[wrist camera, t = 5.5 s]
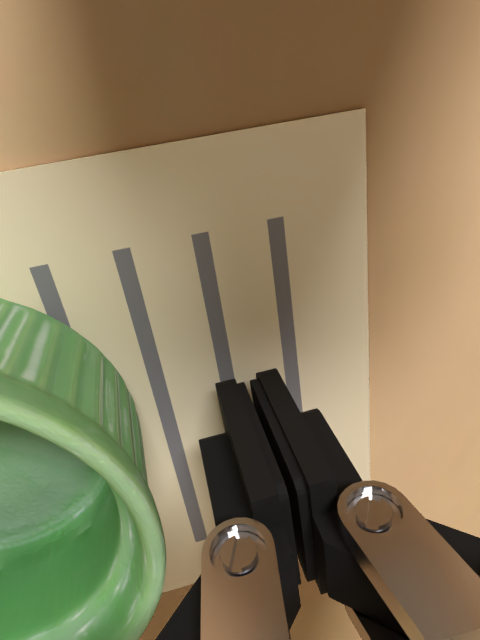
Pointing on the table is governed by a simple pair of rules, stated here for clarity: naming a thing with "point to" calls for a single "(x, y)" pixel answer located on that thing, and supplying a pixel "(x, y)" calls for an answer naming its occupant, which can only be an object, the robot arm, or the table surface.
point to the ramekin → (71, 490)
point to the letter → (206, 285)
